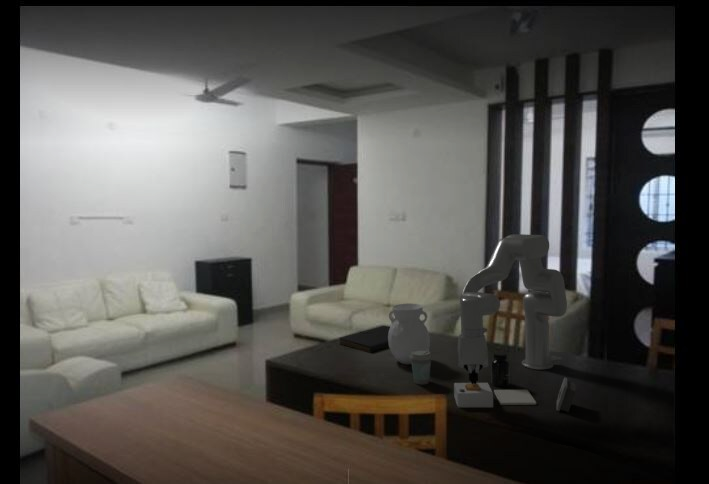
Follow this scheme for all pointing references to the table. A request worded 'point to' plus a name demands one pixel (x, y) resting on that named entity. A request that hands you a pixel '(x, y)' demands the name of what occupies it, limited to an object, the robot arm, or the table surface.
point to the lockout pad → (514, 397)
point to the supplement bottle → (500, 370)
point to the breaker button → (472, 387)
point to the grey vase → (407, 331)
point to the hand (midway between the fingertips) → (473, 382)
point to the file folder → (368, 339)
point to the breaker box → (473, 396)
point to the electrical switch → (565, 395)
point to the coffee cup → (421, 366)
